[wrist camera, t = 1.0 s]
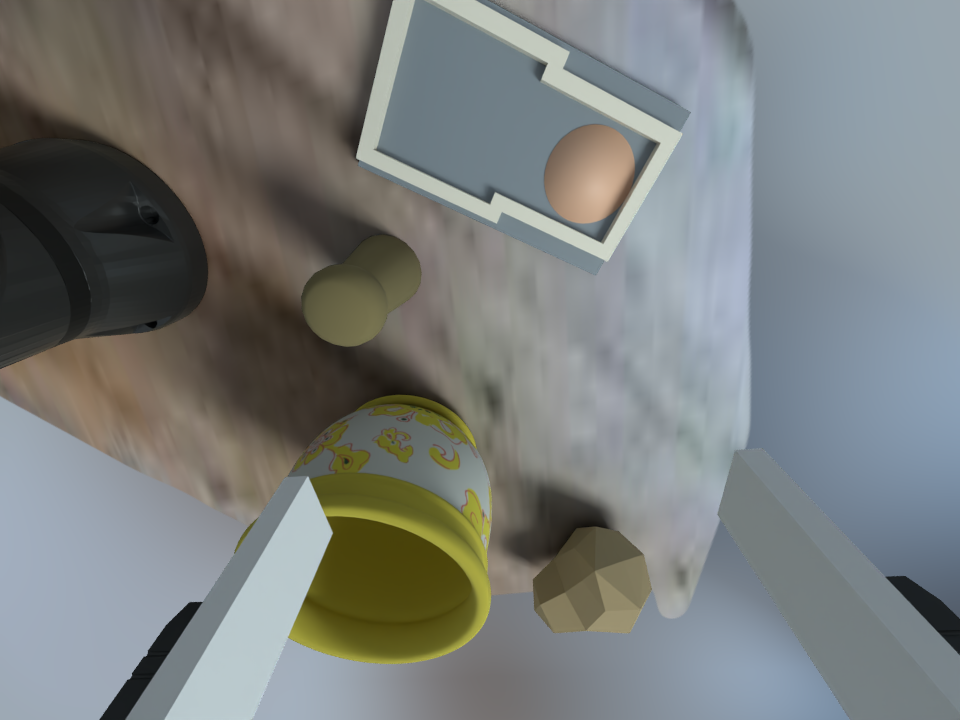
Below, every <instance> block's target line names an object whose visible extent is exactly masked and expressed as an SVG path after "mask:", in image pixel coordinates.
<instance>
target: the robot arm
mask: <svg viewBox="0 0 960 720" xmlns="http://www.w3.org/2000/svg"><path fill="white" fill-rule="evenodd" d="M207 279H208V265H207V258H206V253H205V249H204V245H203V242H202V239H201V237H200V234H199V232H198V230H197V228H196V226H195V224H194V222H193V220H192V218H191V216H190V215H189V213H188V212H187V210H186V209H185V207H184V206H183V204H182V203H181V202H180V200H179V199H178V198H177V196H176V195H175V194H174V193H173V192H172V191H171V190H170V188H169V187H168V186H167V185H166V184H165V183H164V182H163V181H162V180H161V179H160V178H158V177H157V176H156V175H155V174H154V173H153V172H151V171H150V170H149V169H148V168H146V167H145V166H144V165H142V164H141V163H139V162H138V161H136V160H135V159H133V158H131V157H130V156H128V155H126V154H124V153H122V152H120V151H118V150H116V149H114V148H111V147H109V146H106V145H103V144H100V143H96V142H91V141H85V140H73V139H59V138H39V139H31V140H26V141H23V142H20V143H17V144H14V145H11V146H7V147H4V148H0V369H1V368H4V367H6V366H9V365H11V364H14V363H16V362H18V361H21V360H23V359H26V358H28V357H31V356H33V355H36V354H38V353H41V352H43V351H45V350H48V349H50V348H53V347H55V346H58V345H60V344H63V343H65V342H68V341H71V340H73V339H80V338H90V337H101V336H111V335H122V334H132V333H143V332H149V331H153V330H157V329H160V328H163V327H165V326H167V325H169V324H172V323H174V322H176V321H178V320H180V319H182V318H184V317H186V316H187V315H189V314H190V313H191V312H192V311H193V310H194V309H195V308H196V307H197V306H198V304H199V303H200V301H201V300H202V298H203V295H204V293H205V290H206V285H207ZM717 515H718V516H719V518H720V519H721V521H722V522H723V524H724V525H725V527H726V528H727V530H728V531H729V533H730V535H731V536H732V537H733V539H734V541H735V542H736V544H737V546H738V547H739V549H740V550H741V552H742V553H743V555H744V556H745V558H746V559H747V561H748V562H749V564H750V566H751V567H752V569H753V570H754V572H755V573H756V575H757V576H758V578H759V580H760V581H761V583H762V584H763V586H764V587H765V589H766V590H767V592H768V594H769V595H770V597H771V598H772V600H773V601H774V603H775V604H776V606H777V607H778V609H779V611H780V612H781V614H782V615H783V617H784V618H785V619H786V621H787V623H788V625H789V626H790V627H791V629H792V631H793V632H794V634H795V635H796V637H797V638H798V640H799V642H800V643H801V645H802V646H803V648H804V649H805V651H806V652H807V654H808V656H809V657H810V659H811V660H812V662H813V663H814V665H815V666H816V668H817V669H818V671H819V673H820V674H821V676H822V677H823V679H824V680H825V682H826V683H827V685H828V686H829V688H830V690H831V691H832V693H833V694H834V696H835V697H836V699H837V700H838V702H839V704H840V705H841V706H842V708H843V710H844V711H845V713H846V714H847V716H848V717H849V719H850V720H960V619H959V618H958V617H957V616H956V615H955V614H954V613H953V612H952V611H951V610H950V609H949V608H948V607H947V606H946V605H945V604H944V603H943V602H942V601H941V600H940V599H938V598H937V597H935V596H934V595H932V594H931V593H929V592H928V591H926V590H925V589H923V588H922V587H920V586H919V585H918V584H916V583H915V582H913V581H912V580H910V579H909V578H907V577H906V576H896V577H895V576H892V577H885V576H884V575H883V574H882V573H881V572H880V571H879V570H878V569H877V568H876V567H875V566H874V565H873V564H872V563H871V562H870V561H869V560H868V558H867V557H866V556H865V555H864V554H863V553H862V552H861V551H860V550H859V549H858V548H857V547H856V546H855V545H854V544H853V543H852V542H851V541H850V540H849V539H848V538H847V537H846V535H845V534H844V533H843V532H842V531H841V530H840V529H839V528H838V527H837V526H836V525H835V524H834V523H833V522H832V521H831V520H830V519H829V518H828V517H827V516H826V515H825V514H824V512H823V511H822V510H821V509H820V508H819V507H818V506H817V505H816V504H815V503H814V502H813V501H812V500H811V499H810V498H809V497H808V496H807V495H806V494H805V492H804V491H803V490H802V489H801V488H800V487H799V486H798V485H797V484H796V483H795V482H794V481H793V480H792V479H791V478H790V477H789V476H788V475H787V474H786V473H785V471H784V470H783V469H782V468H780V466H779V465H778V464H777V463H776V462H775V461H774V460H773V459H772V458H771V457H770V456H769V455H768V454H767V453H766V452H765V451H764V449H745V450H735V453H734V456H733V460H732V463H731V467H730V471H729V474H728V478H727V482H726V485H725V489H724V492H723V496H722V500H721V503H720V507H719V510H718V514H717ZM332 534H333V532H332V530H331V528H330V525H329V523H328V521H327V518H326V516H325V514H324V512H323V509H322V507H321V505H320V502H319V500H318V498H317V496H316V493H315V491H314V489H313V486H312V484H311V482H310V480H309V477H308V476H298V477H285V478H284V480H283V481H282V483H281V484H280V486H279V487H278V489H277V490H276V492H275V493H274V495H273V496H272V498H271V499H270V501H269V503H268V504H267V506H266V507H265V509H264V510H263V512H262V513H261V515H260V516H259V518H258V519H257V521H256V522H255V524H254V525H253V527H252V528H251V530H250V531H249V533H248V534H247V536H246V537H245V539H244V540H243V542H242V543H241V545H240V547H239V548H238V550H237V551H236V553H235V554H234V556H233V557H232V559H231V560H230V562H229V563H228V565H227V566H226V568H225V569H224V571H223V572H222V574H221V575H220V577H219V578H218V580H217V581H216V583H215V585H214V586H213V588H212V589H211V591H210V592H209V594H208V595H207V597H206V598H205V600H204V601H203V602H190V603H188V604H187V605H186V606H185V607H184V608H183V609H182V610H181V611H180V612H179V613H178V614H177V615H176V616H175V617H174V618H173V619H172V620H171V621H170V622H169V623H168V624H167V625H166V626H165V628H164V629H163V631H162V632H161V633H160V635H159V636H158V637H157V639H156V640H155V642H154V643H153V645H152V646H151V648H150V649H149V650H148V654H147V656H146V657H143V659H142V660H141V662H140V663H139V665H138V666H137V667H136V669H135V670H134V671H133V673H132V677H131V678H130V679H129V680H127V682H126V683H125V684H124V686H123V687H122V688H121V690H120V691H119V693H118V694H117V696H116V697H115V698H114V700H113V701H112V703H111V704H110V705H109V707H108V708H107V710H106V711H105V713H104V714H103V716H102V717H101V718H100V720H253V717H254V715H255V713H256V710H257V708H258V706H259V703H260V701H261V699H262V696H263V694H264V692H265V689H266V687H267V685H268V683H269V680H270V678H271V676H272V673H273V671H274V668H275V666H276V664H277V662H278V659H279V657H280V655H281V652H282V650H283V648H284V645H285V643H286V641H287V638H288V636H289V634H290V631H291V629H292V627H293V624H294V622H295V620H296V617H297V615H298V613H299V610H300V608H301V606H302V603H303V601H304V599H305V597H306V594H307V592H308V590H309V587H310V585H311V583H312V580H313V578H314V576H315V573H316V571H317V569H318V566H319V564H320V562H321V559H322V557H323V555H324V552H325V550H326V548H327V545H328V543H329V541H330V538H331V536H332Z"/></svg>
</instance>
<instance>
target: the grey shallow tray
mask: <svg viewBox="0 0 960 720" xmlns="http://www.w3.org/2000/svg"><path fill="white" fill-rule="evenodd" d="M690 113H691V112H690V111H688V110H686V109H684V108H682V107H681V106H679V105H677V104H675V103H673V102H672V101H670V100H668V99H666V98H664V97H662V96H661V95H659V94H657V93H655V92H653V91H652V90H650V89H648V88H646V87H644V86H643V85H641V84H639V83H637V82H635V81H633V80H632V79H630V78H628V77H626V76H624V75H623V74H621V73H619V72H617V71H615V70H614V69H612V68H610V67H608V66H606V65H604V64H603V63H601V62H599V61H597V60H595V59H594V58H592V57H590V56H588V55H586V54H585V53H583V52H581V51H579V50H577V49H575V48H574V47H572V46H570V45H568V44H566V43H565V42H563V41H561V40H559V39H557V38H556V37H554V36H552V35H550V34H548V33H546V32H545V31H543V30H541V29H539V28H537V27H536V26H534V25H532V24H530V23H528V22H527V21H525V20H523V19H521V18H519V17H517V16H516V15H514V14H512V13H510V12H508V11H507V10H505V9H503V8H501V7H499V6H498V5H496V4H494V3H492V2H490V1H488V0H393V3H392V7H391V11H390V16H389V20H388V24H387V28H386V33H385V37H384V41H383V45H382V49H381V54H380V58H379V62H378V66H377V71H376V75H375V79H374V83H373V88H372V92H371V96H370V100H369V105H368V109H367V113H366V117H365V121H364V126H363V130H362V134H361V138H360V143H359V147H358V151H357V155H356V159H359V163H358V166H360V167H362V168H364V169H366V170H368V171H371V172H373V173H375V174H377V175H379V176H381V177H384V178H386V179H388V180H390V181H392V182H394V183H397V184H399V185H401V186H403V187H405V188H407V189H409V190H412V191H414V192H416V193H418V194H420V195H422V196H425V197H427V198H429V199H431V200H433V201H435V202H438V203H440V204H442V205H444V206H446V207H448V208H451V209H453V210H455V211H457V212H459V213H461V214H464V215H466V216H468V217H470V218H472V219H474V220H477V221H479V222H481V223H483V224H485V225H487V226H490V227H492V228H494V229H496V230H498V231H500V232H503V233H505V234H507V235H509V236H511V237H513V238H516V239H518V240H520V241H522V242H524V243H526V244H529V245H531V246H533V247H535V248H537V249H539V250H542V251H544V252H546V253H548V254H550V255H552V256H555V257H557V258H559V259H561V260H563V261H565V262H568V263H570V264H572V265H574V266H576V267H578V268H580V269H583V270H585V271H587V272H589V273H591V274H593V275H596V274H597V273H598V271H599V269H600V267H601V266H602V264H603V262H604V261H607V262H608V260H609V259H610V257H611V255H612V254H613V252H614V250H615V248H616V247H617V245H618V243H619V242H620V240H621V238H622V237H623V235H624V233H625V231H626V230H627V228H628V226H629V225H630V223H631V221H632V220H633V218H634V216H635V214H636V213H637V211H638V209H639V208H640V206H641V204H642V203H643V201H644V199H645V197H646V196H647V194H648V192H649V191H650V189H651V187H652V186H653V184H654V182H655V180H656V179H657V177H658V175H659V174H660V172H661V170H662V169H663V167H664V165H665V163H666V162H667V160H668V158H669V157H670V155H671V153H672V152H673V150H674V148H675V146H676V145H677V143H678V141H679V140H680V138H681V136H682V135H683V133H681V132H680V130H681V129H682V127H683V125H684V123H685V122H686V120H687V118H688V117H689V115H690Z"/></svg>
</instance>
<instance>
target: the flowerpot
mask: <svg viewBox="0 0 960 720" xmlns="http://www.w3.org/2000/svg"><path fill="white" fill-rule="evenodd" d="M298 476H308V477H309V480H310V482H311V484H312V486H313V489H314V491H315V493H316V496H317V498H318V500H319V502H320V505H321V507H322V509H323V512H324V514H325V516H326V518H327V521H328V523H329V525H330V528H331V530H332V532H333V534H332V536H331V538H330V541H329V543H328V545H327V548H326V550H325V552H324V555H323V557H322V559H321V562H320V564H319V566H318V569H317V571H316V573H315V576H314V578H313V580H312V583H311V585H310V587H309V590H308V592H307V594H306V597H305V599H304V601H303V603H302V606H301V608H300V610H299V613H298V615H297V617H296V620H295V622H294V624H293V627H292V629H291V631H290V634H289V636H288V638H290V639H291V640H293V641H295V642H297V643H300V644H302V645H304V646H306V647H309V648H311V649H314V650H316V651H319V652H322V653H325V654H328V655H332V656H335V657H339V658H343V659H348V660H353V661H360V662H367V663H380V664H400V663H401V664H402V663H412V662H419V661H424V660H429V659H433V658H437V657H440V656H443V655H445V654H447V653H450V652H452V651H454V650H456V649H458V648H460V647H461V646H463V645H464V644H466V643H467V642H468V641H470V640H471V639H472V638H473V637H474V636H475V635H476V634H477V633H478V632H479V630H480V629H481V627H482V626H483V624H484V623H485V621H486V618H487V616H488V613H489V609H490V602H491V588H490V582H489V578H488V575H487V568H488V561H487V554H486V553H487V548H488V543H489V538H490V531H491V520H492V496H491V488H490V482H489V478H488V474H487V471H486V468H485V465H484V463H483V461H482V458H481V456H480V454H479V453H478V451H477V448H476V443H475V440H474V438H473V435H472V433H471V432H470V430H469V428H468V427H467V426H466V424H465V423H464V422H463V421H462V420H461V419H460V418H459V417H458V416H457V415H456V414H455V413H453V412H452V411H451V410H449V409H448V408H446V407H444V406H443V405H441V404H439V403H437V402H434V401H432V400H429V399H426V398H422V397H418V396H411V395H390V396H384V397H380V398H377V399H374V400H371V401H369V402H367V403H366V404H364V405H362V406H361V407H359V408H358V409H357V410H356V411H355V412H354V413H351V414H349V415H347V416H345V417H343V418H341V419H340V420H338V421H336V422H335V423H333V424H332V425H331V426H329V427H328V428H326V429H325V430H324V431H323V432H322V433H321V434H320V435H318V436H317V437H316V438H315V439H314V441H313V442H312V443H311V444H310V445H309V446H308V447H307V448H306V450H305V451H304V452H303V454H302V455H301V456H300V458H299V459H298V461H297V462H296V463H295V465H294V467H293V468H292V470H291V472H290V473H289V475H288V477H298ZM258 518H259V517H258ZM258 518H257V519H258ZM257 519H256V520H255V521H254V522H253V523H252V524H251V525H250V526H249V527H248V528H247V529H246V531H245V532H244V534H243V535H242V537H241V538H240V540H239V542H238V545H237V547H236V549H235V553H236V551H237V550H238V548H239V547H240V545H241V543H242V542H243V540H244V539H245V537H246V536H247V534H248V533H249V531H250V530H251V528H252V527H253V525H254V524H255V522H256V521H257ZM235 553H234V554H235Z"/></svg>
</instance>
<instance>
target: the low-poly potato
mask: <svg viewBox="0 0 960 720" xmlns="http://www.w3.org/2000/svg"><path fill="white" fill-rule="evenodd" d="M651 590H652V588H651V584H650V579H649V575H648V571H647V566H646V562H645V558H644V554H643V553H642V552H640V551H639V550H638V549H637V548H636V547H635V546H634V545H633V544H632V543H631V542H630V541H628V540H627V539H626V538H625V537H624V536H623V535H622V534H621V533H620V532H619V531H614V530H610V529H605V528H601V527H584V528H576V530H575V531H574V532H573V534H572V535H571V536H570V538H569V539H568V540H567V542H566V543H565V545H564V546H563V547H562V549H561V550H560V551H559V553H558V554H557V555H556V557H555V558H554V559H553V560H552V561H551V562H550V563H549V564H548V565H547V566H546V567H545V568H544V569H543V570H542V571H541V572H540V573H539V574H538V575H537V576H536V577H535V578H534V579H533V593H534V610H535V612H536V613H537V614H538V615H539V616H540V617H541V619H542V620H543V621H544V622H545V623H546V624H547V626H548V627H549V628H550V629H551V630H552V631H553V633H563V632H576V631H597V632H615V633H630V632H631V630H632V628H633V626H634V624H635V622H636V620H637V618H638V616H639V614H640V612H641V610H642V608H643V606H644V604H645V602H646V600H647V598H648V596H649V594H650V592H651Z"/></svg>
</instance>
